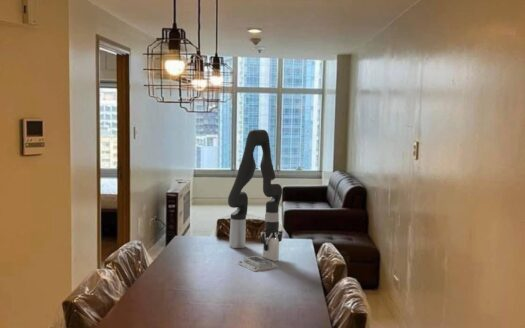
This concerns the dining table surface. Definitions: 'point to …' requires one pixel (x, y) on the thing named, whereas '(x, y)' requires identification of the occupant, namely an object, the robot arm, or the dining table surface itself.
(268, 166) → the robot arm
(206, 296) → the dining table surface
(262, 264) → the plate
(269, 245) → the photo printer
